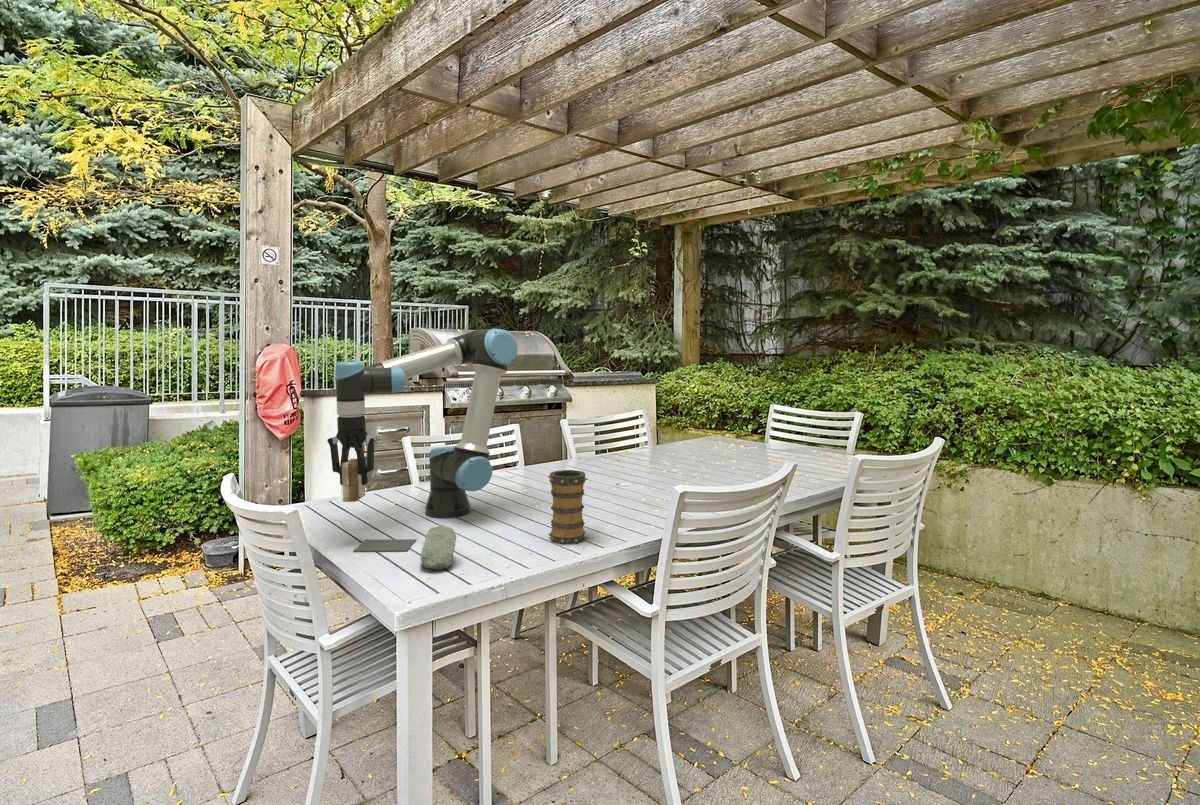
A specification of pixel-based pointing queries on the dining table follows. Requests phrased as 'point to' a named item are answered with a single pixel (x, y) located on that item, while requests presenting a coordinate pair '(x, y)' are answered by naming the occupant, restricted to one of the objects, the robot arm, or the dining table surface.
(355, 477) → the slab
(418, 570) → the dining table surface
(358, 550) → the mat
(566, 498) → the mug
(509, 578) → the dining table surface
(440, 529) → the decorative stone
